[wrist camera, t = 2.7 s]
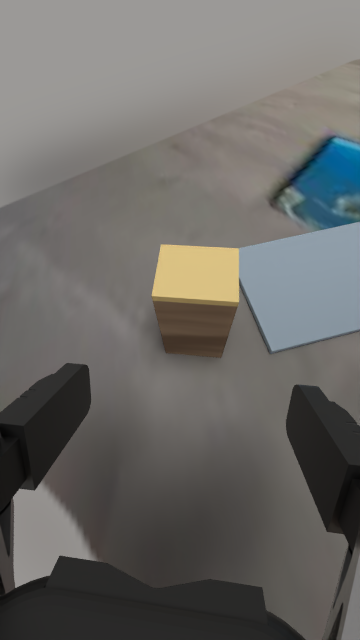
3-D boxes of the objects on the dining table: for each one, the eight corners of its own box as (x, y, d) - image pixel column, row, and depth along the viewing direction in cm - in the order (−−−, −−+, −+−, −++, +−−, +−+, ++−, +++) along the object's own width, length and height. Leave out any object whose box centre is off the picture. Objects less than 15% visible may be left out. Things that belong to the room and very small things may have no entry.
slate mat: (358, 225, 29) (361, 221, 29) (429, 313, 24) (435, 309, 23) (226, 254, 28) (227, 250, 28) (270, 353, 23) (272, 351, 22)
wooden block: (221, 357, 23) (238, 302, 14) (165, 352, 23) (151, 296, 15) (222, 318, 25) (238, 248, 16) (171, 314, 25) (161, 244, 16)
